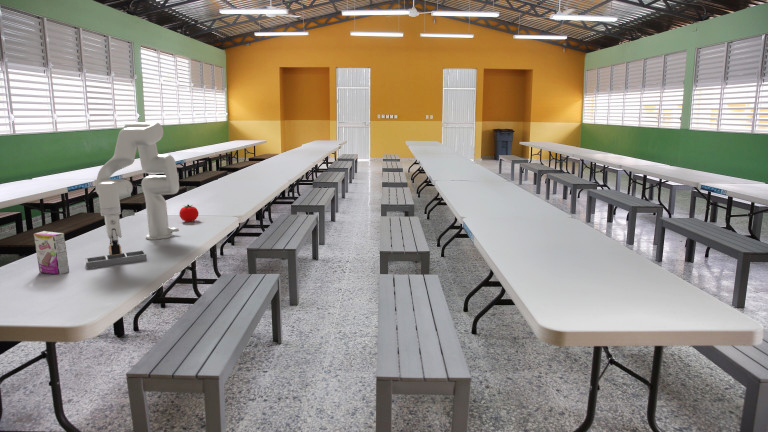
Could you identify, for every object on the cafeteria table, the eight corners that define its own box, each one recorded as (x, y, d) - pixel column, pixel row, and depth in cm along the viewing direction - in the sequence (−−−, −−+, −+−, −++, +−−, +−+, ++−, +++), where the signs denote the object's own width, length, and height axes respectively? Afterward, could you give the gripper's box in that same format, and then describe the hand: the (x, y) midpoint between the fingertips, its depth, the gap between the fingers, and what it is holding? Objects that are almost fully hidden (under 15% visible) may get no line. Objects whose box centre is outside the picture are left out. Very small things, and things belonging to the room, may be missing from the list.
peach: (121, 251, 229) (119, 240, 228) (122, 254, 225) (121, 243, 224) (108, 253, 227) (107, 242, 226) (109, 256, 223) (108, 244, 222)
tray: (144, 255, 236) (143, 250, 235) (146, 260, 229) (146, 254, 229) (86, 264, 224) (85, 258, 224) (87, 268, 218) (86, 262, 217)
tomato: (195, 223, 301) (193, 206, 299) (177, 223, 301) (175, 206, 299) (201, 219, 311) (200, 203, 309) (184, 219, 311) (182, 203, 309)
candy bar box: (38, 272, 213) (32, 233, 210) (49, 269, 218) (44, 230, 214) (59, 275, 209) (53, 235, 206) (70, 271, 214) (64, 232, 211)
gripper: (122, 213, 217) (127, 256, 221) (118, 207, 231) (123, 247, 235) (102, 215, 213) (107, 258, 217) (99, 209, 227) (104, 249, 231)
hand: (115, 252), depth 226 cm, fingers closed on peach, 4 cm apart
